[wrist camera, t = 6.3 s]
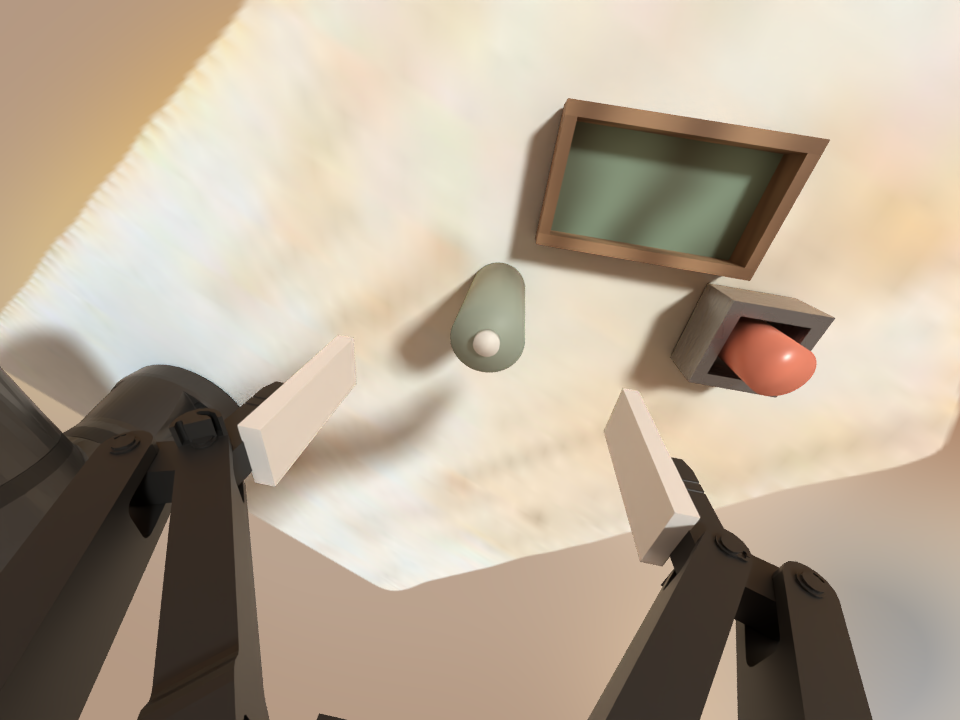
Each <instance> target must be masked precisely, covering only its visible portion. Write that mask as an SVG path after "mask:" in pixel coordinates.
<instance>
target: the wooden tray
mask: <svg viewBox="0 0 960 720" xmlns="http://www.w3.org/2000/svg"><path fill="white" fill-rule="evenodd" d="M829 141H830V140H829V139H822V138H816V137H810V136H803V135H797V134H791V133H785V132H778V131H772V130H766V129H759V128H753V127H747V126H740V125H734V124H728V123H721V122H715V121H709V120H702V119H696V118H690V117H683V116H677V115H671V114H665V113H658V112H652V111H646V110H639V109H633V108H627V107H620V106H614V105H608V104H601V103H595V102H589V101H582V100H576V99H570V98H568V99H567V101H566V103H565V104H564V108H563V112H562V117H561V122H560V126H559V131H558V135H557V140H556V145H555V149H554V154H553V159H552V163H551V168H550V172H549V177H548V182H547V186H546V191H545V196H544V200H543V205H542V209H541V214H540V219H539V223H538V228H537V232H536V237H535V239H536V244H538V245H544V246H550V247H555V248H561V249H567V250H573V251H579V252H585V253H590V254H596V255H602V256H608V257H614V258H620V259H626V260H631V261H637V262H643V263H649V264H655V265H661V266H666V267H672V268H678V269H684V270H690V271H696V272H701V273H707V274H713V275H719V276H725V277H731V278H736V279H742V280H748V281H750V280H751V278H752V277H753V275H754V273H755V271H756V269H757V268H758V266H759V264H760V262H761V261H762V259H763V257H764V255H765V254H766V252H767V250H768V248H769V247H770V245H771V243H772V241H773V240H774V238H775V236H776V234H777V233H778V231H779V229H780V227H781V225H782V224H783V222H784V220H785V218H786V217H787V215H788V213H789V211H790V210H791V208H792V206H793V204H794V203H795V201H796V199H797V197H798V196H799V194H800V192H801V190H802V189H803V187H804V185H805V183H806V181H807V180H808V178H809V176H810V174H811V173H812V171H813V169H814V167H815V166H816V164H817V162H818V160H819V159H820V157H821V155H822V153H823V152H824V150H825V148H826V146H827V145H828V143H829Z"/></svg>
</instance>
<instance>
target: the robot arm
mask: <svg viewBox="0 0 960 720" xmlns="http://www.w3.org/2000/svg"><path fill="white" fill-rule="evenodd" d="M356 384H357V383H356V367H355V350H354V338H353V337H348V336H343V335H338V336H337V337H335V338H334V339H333V340H332V341H331V342H330V343H329V344H328V345H327V346H325V347H324V348H323V349H322V350H321V351H320V352H319V353H318V354H316V355H315V356H314V357H313V358H312V359H311V360H310V361H309V362H308V363H306V364H305V365H304V366H303V367H302V368H301V369H300V370H299V371H297V372H296V373H295V374H294V375H293V376H292V377H291V378H290V379H289V380H287V381H286V382H285V383H281V382H274V383H272V384H270V385H268V386H266V387H263V388H262V389H261V390H260V391H258V392H257V393H256V394H255V395H254V396H253V398H252V397H251V398H250V399H249V400H248V401H247V402H246V403H245V404H243V405H242V406H241V407H238V405H237V404H236V403H235V402H234V401H233V400H232V399H231V398H230V397H229V396H228V395H227V394H226V393H225V392H224V391H223V390H221V389H220V388H219V387H217V386H216V385H215V384H213V383H212V382H210V381H208V380H207V379H205V378H203V377H201V376H199V375H197V374H195V373H193V372H191V371H188V370H185V369H182V368H179V367H175V366H169V365H150V366H146V367H143V368H141V369H139V370H138V371H136V372H134V373H132V374H130V375H128V376H126V377H125V378H123V379H122V380H120V381H119V382H118V383H117V384H116V385H115V386H114V387H113V389H112V390H111V392H110V393H109V394H108V395H107V396H106V397H105V398H104V399H103V400H102V401H101V402H100V403H99V404H98V405H97V406H96V407H95V408H94V409H93V410H92V411H91V412H90V413H89V414H88V415H87V416H86V417H85V418H84V419H83V420H82V421H81V422H80V423H79V424H77V425H76V426H74V427H73V428H71V429H69V430H68V431H66V432H64V433H62V432H61V431H60V430H59V428H58V427H57V426H56V425H55V424H54V423H52V421H51V420H50V419H49V418H47V416H46V415H45V414H44V413H43V412H42V411H41V410H40V409H39V408H38V407H37V406H36V405H35V403H33V402H32V400H31V399H30V398H29V397H28V396H27V395H26V394H25V393H24V392H23V391H22V390H21V389H20V388H19V386H18V385H17V384H16V383H15V382H14V381H13V380H12V379H11V378H10V377H9V376H8V375H7V374H6V373H5V371H4V370H3V369H2V368H1V367H0V720H78V719H79V717H80V714H81V712H82V710H83V708H84V706H85V703H86V701H87V699H88V697H89V694H90V692H91V690H92V688H93V685H94V683H95V681H96V679H97V677H98V674H99V672H100V670H101V667H102V665H103V663H104V661H105V659H106V656H107V654H108V652H109V650H110V647H111V645H112V643H113V640H114V638H115V636H116V634H117V632H118V629H119V627H120V625H121V623H122V620H123V618H124V616H125V614H126V611H127V609H128V607H129V604H130V602H131V600H132V598H133V596H134V593H135V591H136V589H137V587H138V584H139V582H140V580H141V578H142V575H143V573H144V571H145V569H146V567H147V564H148V562H149V560H150V558H151V555H152V553H153V551H154V549H155V546H156V544H157V542H158V540H159V537H160V535H161V533H162V531H163V528H164V526H165V524H166V522H167V519H168V517H169V515H170V513H171V515H170V524H169V533H168V543H167V552H166V562H165V572H164V582H163V591H162V600H161V611H160V620H159V629H158V639H157V648H156V658H155V668H154V677H153V687H152V693H151V697H150V700H149V702H148V703H147V704H146V706H144V708H143V709H142V710H141V712H140V714H139V716H138V719H137V720H269V716H268V711H267V707H266V703H265V697H264V690H263V678H262V667H261V656H260V644H259V633H258V622H257V610H256V599H255V588H254V578H253V577H254V576H253V566H252V554H251V543H250V531H249V520H248V508H247V497H246V486H245V483H244V479H245V478H246V477H247V476H248V475H249V474H250V473H251V472H252V475H253V478H254V481H255V483H260V484H265V485H270V486H274V487H275V486H276V485H277V484H278V483H279V481H280V480H281V479H282V478H283V476H284V475H285V474H286V473H287V471H288V470H289V469H290V467H291V466H292V465H293V464H294V462H295V461H296V460H297V459H298V457H299V456H300V455H301V453H302V452H303V451H304V450H305V448H306V447H307V446H308V445H309V443H310V442H311V441H312V439H313V438H314V437H315V436H316V434H317V433H318V432H319V431H320V429H321V428H322V427H323V425H324V424H325V423H326V422H327V420H328V419H329V418H330V417H331V415H332V414H333V413H334V412H335V410H336V409H337V408H338V406H339V405H340V404H341V403H342V401H343V400H344V399H345V398H346V396H347V395H348V394H349V392H350V391H351V390H352V389H353V387H354V386H355V385H356ZM604 434H605V438H606V441H607V445H608V448H609V452H610V456H611V459H612V463H613V466H614V470H615V474H616V477H617V481H618V484H619V488H620V491H621V495H622V499H623V502H624V506H625V509H626V513H627V517H628V520H629V524H630V527H631V531H632V535H633V538H634V542H635V545H636V549H637V552H638V556H639V560H640V562H644V563H648V564H653V565H658V566H663V565H664V564H665V562H666V561H667V560H668V558H669V557H670V558H671V561H672V563H673V566H674V570H673V571H672V572H671V573H670V574H669V576H668V577H667V578H666V579H665V581H664V582H663V583H662V584H661V586H663V587H662V589H661V591H660V593H659V594H658V596H657V598H656V600H655V601H654V603H653V605H652V607H651V608H650V610H649V612H648V614H647V616H646V617H645V619H644V621H643V623H642V624H641V626H640V628H639V630H638V631H637V633H636V635H635V637H634V639H633V640H632V642H631V644H630V646H629V647H628V649H627V651H626V653H625V655H624V656H623V658H622V660H621V662H620V663H619V665H618V667H617V669H616V670H615V672H614V674H613V676H612V677H611V679H610V681H609V683H608V685H607V687H606V688H605V690H604V692H603V694H602V695H601V697H600V699H599V701H598V702H597V704H596V706H595V708H594V709H593V711H592V713H591V715H590V717H589V718H588V720H700V717H701V715H702V711H703V708H704V705H705V703H706V700H707V697H708V694H709V691H710V688H711V685H712V682H713V679H714V676H715V673H716V670H717V667H718V665H719V662H720V659H721V656H722V653H723V650H724V647H725V644H726V641H727V638H728V635H729V632H730V629H731V626H732V624H733V620H734V619H735V620H736V651H737V693H738V696H737V699H738V720H872V716H871V713H870V709H869V706H868V702H867V698H866V694H865V691H864V687H863V684H862V680H861V676H860V673H859V669H858V666H857V662H856V659H855V655H854V651H853V648H852V644H851V641H850V637H849V634H848V630H847V627H846V623H845V619H844V615H843V612H842V608H841V605H840V601H839V599H838V597H837V595H836V592H835V591H834V590H833V588H832V587H831V586H830V585H829V583H828V582H827V581H826V580H825V579H824V578H823V577H821V576H820V575H819V574H818V573H817V572H815V571H814V570H812V569H811V568H809V567H807V566H805V565H803V564H801V563H798V562H793V561H788V562H786V563H784V564H783V565H782V566H781V567H780V568H779V567H777V566H775V565H772V564H770V563H768V562H766V561H764V560H761V559H759V558H757V557H755V556H753V555H751V553H750V551H749V549H748V548H747V546H746V545H745V544H744V543H743V541H741V540H740V539H739V538H738V537H737V536H735V535H734V534H733V533H731V532H729V531H727V530H726V529H724V528H723V526H722V524H721V523H720V521H719V519H718V517H717V515H716V513H715V511H714V509H713V508H712V506H711V504H710V502H709V500H708V498H707V496H706V494H704V491H703V489H702V487H701V485H700V484H699V481H698V479H697V478H696V476H695V474H694V472H693V470H692V469H691V468H690V467H689V466H688V465H687V464H686V463H685V462H684V461H683V460H682V459H677V458H672V457H671V456H670V454H669V452H668V450H667V448H666V446H665V444H664V442H663V440H662V438H661V435H660V433H659V431H658V429H657V427H656V425H655V423H654V421H653V419H652V417H651V415H650V413H649V411H648V409H647V407H646V404H645V402H644V400H643V398H642V396H641V394H640V392H639V391H636V390H631V389H626V388H623V389H622V391H621V393H620V395H619V398H618V400H617V402H616V404H615V407H614V409H613V411H612V413H611V416H610V418H609V420H608V422H607V425H606V427H605V429H604ZM317 720H345V719H341V718H337V717H332V716H328V715H324V714H319V716H318V718H317Z"/></svg>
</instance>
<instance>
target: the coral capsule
mask: <svg viewBox="0 0 960 720" xmlns="http://www.w3.org/2000/svg"><path fill="white" fill-rule="evenodd" d="M718 357H720V358H721V359H722V360H723V361H724V362H725V363H726V364H727V365H728V366H729V367H730V368H731V369H732V370H733V371H734V372H735V373H736V374H737V375H738V376H739V377H740V378H741V379H742V380H743V381H744V382H745V383H746V384H747V385H748V386H749V387H750V388H751V389H752V390H753V391H754V392H756V393H758V394H760V395H764V396H778V395H783V394H787V393H790V392H792V391H794V390H796V389H798V388H799V387H801V386H802V385H804V384H805V383H806V382H807V381H808V380H809V379H810V378H811V377H812V375H813V373H814V372H815V369H816V358H815V356H814V354H813V353H812V352H811V351H809V350H808V349H806V348H805V347H803V346H802V345H800V344H799V343H797V342H796V341H794V340H793V339H791V338H790V337H788V336H787V335H785V334H783V333H782V332H780V331H779V330H777V329H776V328H774V327H773V326H771V325H770V324H768V323H767V322H765V321H764V320H761V319H755V318H749V317H743V316H741V317H740V319H739V320H738V322H737V324H736V325H735V327H734V329H733V330H732V332H731V334H730V336H729V337H728V339H727V341H726V342H725V344H724V346H723V348H722V349H721V351H720V353H719V354H718Z"/></svg>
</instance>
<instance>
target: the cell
mask: <svg viewBox="0 0 960 720" xmlns="http://www.w3.org/2000/svg"><path fill="white" fill-rule="evenodd" d="M450 339H451V345H452V348H453V351H454V353H455V354H456V356H457V357H458V359H459V360H460V361H461V362H463V363H464V364H465V365H466V366H468V367H470V368H472V369H474V370H477V371H481V372H498V371H501V370H504V369H506V368H508V367H510V366H512V365H513V364H514V363H515V362H516V361H517V360H518V359H519V357H520V356H521V354H522V352H523V349H524V344H525V284H524V280H523V278H522V276H521V274H520V273H519V272H518V271H517V270H516V269H515V268H514V267H512V266H510V265H508V264H505V263H491V264H488V265H486V266H484V267H483V268H482V269H480V270H479V271H478V273H477V274H476V276H475V278H474V280H473V282H472V284H471V286H470V289H469V291H468V293H467V295H466V297H465V300H464V302H463V304H462V306H461V309H460V311H459V313H458V315H457V317H456V320H455V322H454V324H453V326H452V329H451V336H450Z"/></svg>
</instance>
